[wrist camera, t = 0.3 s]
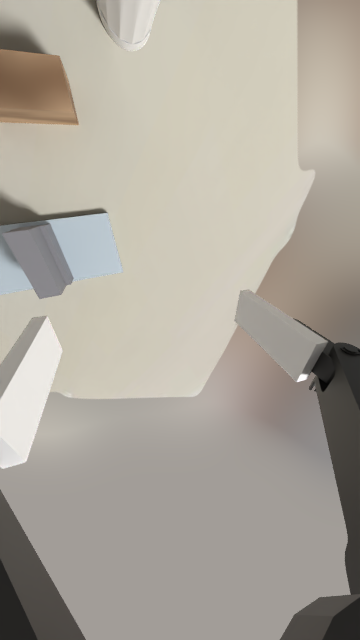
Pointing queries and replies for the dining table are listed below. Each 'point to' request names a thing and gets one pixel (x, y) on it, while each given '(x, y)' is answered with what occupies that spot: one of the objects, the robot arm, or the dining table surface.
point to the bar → (34, 89)
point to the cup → (128, 21)
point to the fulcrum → (56, 253)
